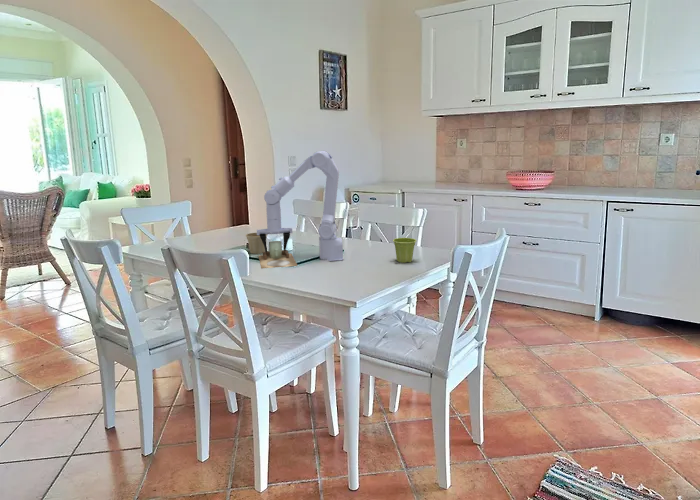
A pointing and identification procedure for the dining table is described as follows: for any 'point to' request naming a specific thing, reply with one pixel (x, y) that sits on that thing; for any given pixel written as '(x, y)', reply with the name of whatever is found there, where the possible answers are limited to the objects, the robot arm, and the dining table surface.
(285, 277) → the dining table surface
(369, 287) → the dining table surface
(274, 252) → the sage green cylinder
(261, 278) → the dining table surface
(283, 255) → the board
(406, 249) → the plant pot
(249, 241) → the flower pot
